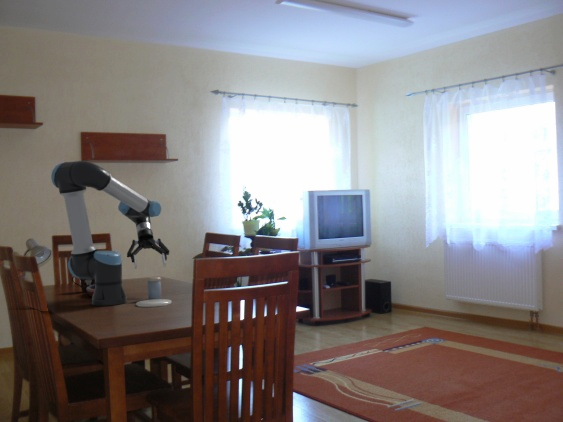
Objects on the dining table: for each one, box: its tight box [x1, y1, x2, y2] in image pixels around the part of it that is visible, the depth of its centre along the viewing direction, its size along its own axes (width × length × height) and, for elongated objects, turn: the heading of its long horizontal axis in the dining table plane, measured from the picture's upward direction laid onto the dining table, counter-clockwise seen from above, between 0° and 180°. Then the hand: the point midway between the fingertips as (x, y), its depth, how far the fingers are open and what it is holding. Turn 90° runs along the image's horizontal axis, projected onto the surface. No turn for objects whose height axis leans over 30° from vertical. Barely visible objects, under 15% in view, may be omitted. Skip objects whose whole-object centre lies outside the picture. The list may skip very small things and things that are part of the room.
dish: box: [86, 284, 95, 297], centre depth 302 cm, size 16×31×5 cm, turn 17°
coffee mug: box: [71, 275, 95, 293], centre depth 316 cm, size 12×9×10 cm
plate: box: [135, 298, 172, 308], centre depth 265 cm, size 15×15×1 cm
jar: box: [146, 276, 162, 300], centre depth 279 cm, size 6×6×10 cm
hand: (150, 265), depth 289 cm, fingers open, 13 cm apart
